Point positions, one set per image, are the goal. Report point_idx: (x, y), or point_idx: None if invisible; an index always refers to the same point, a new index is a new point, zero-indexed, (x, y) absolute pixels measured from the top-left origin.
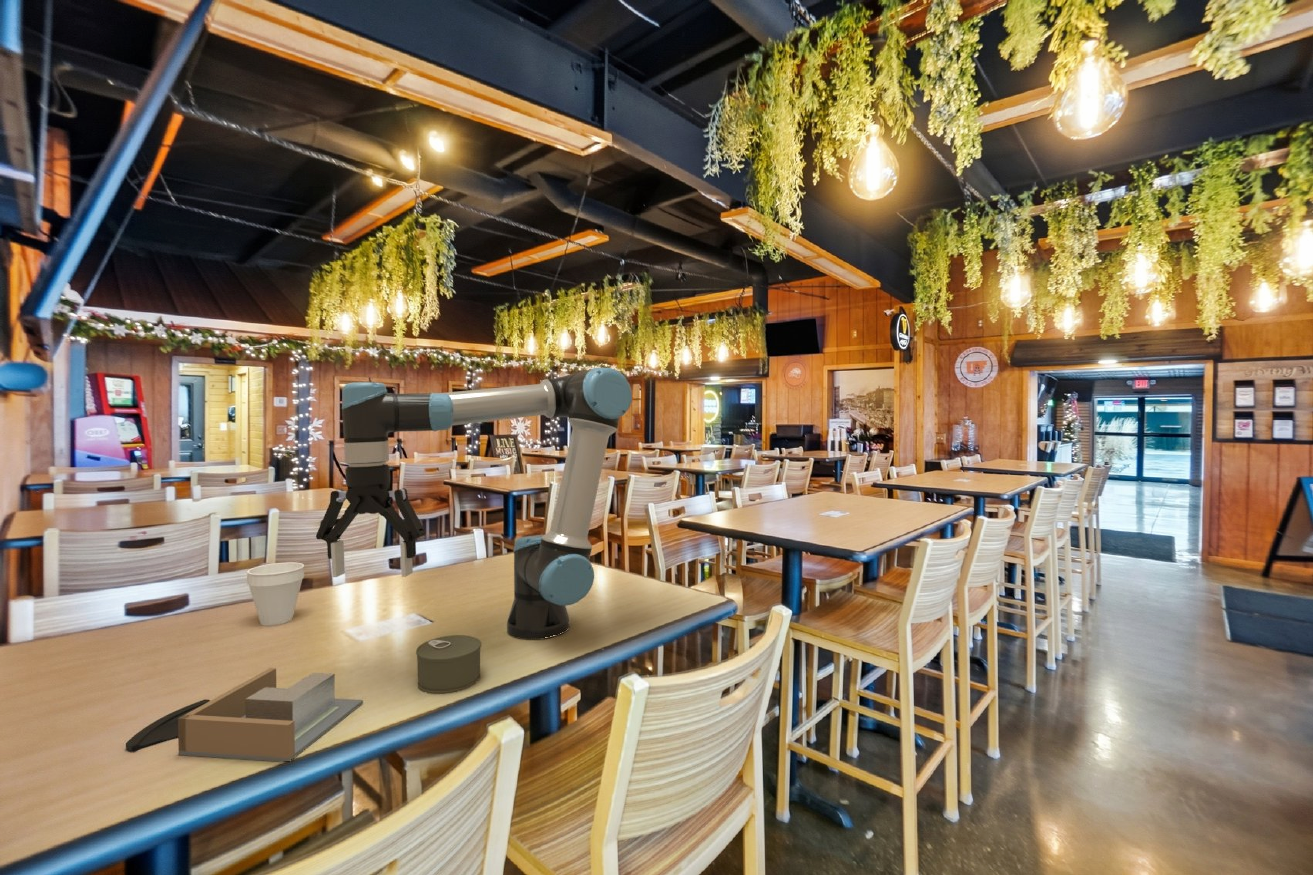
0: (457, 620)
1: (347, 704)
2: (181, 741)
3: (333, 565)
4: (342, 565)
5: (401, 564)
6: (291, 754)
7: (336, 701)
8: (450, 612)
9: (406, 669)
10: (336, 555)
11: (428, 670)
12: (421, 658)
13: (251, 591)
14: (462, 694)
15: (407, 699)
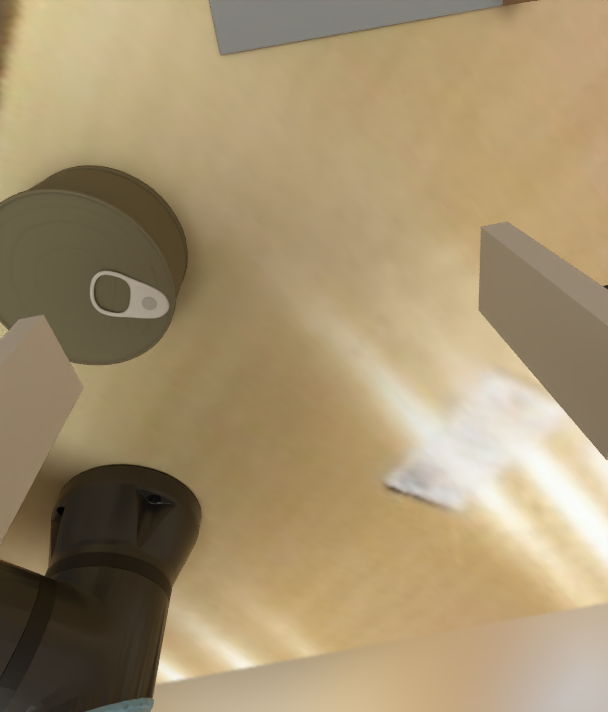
0: (336, 503)
1: (241, 11)
2: None
3: (535, 251)
4: (503, 318)
5: (3, 357)
6: None
7: (289, 21)
8: (380, 528)
9: (264, 271)
10: (555, 302)
11: (72, 181)
12: (91, 194)
13: None
14: (6, 185)
15: (121, 116)
